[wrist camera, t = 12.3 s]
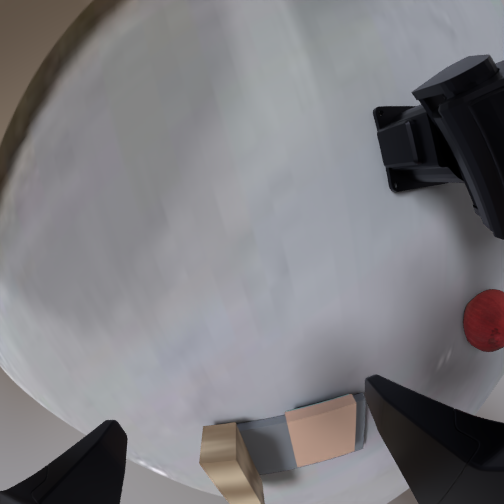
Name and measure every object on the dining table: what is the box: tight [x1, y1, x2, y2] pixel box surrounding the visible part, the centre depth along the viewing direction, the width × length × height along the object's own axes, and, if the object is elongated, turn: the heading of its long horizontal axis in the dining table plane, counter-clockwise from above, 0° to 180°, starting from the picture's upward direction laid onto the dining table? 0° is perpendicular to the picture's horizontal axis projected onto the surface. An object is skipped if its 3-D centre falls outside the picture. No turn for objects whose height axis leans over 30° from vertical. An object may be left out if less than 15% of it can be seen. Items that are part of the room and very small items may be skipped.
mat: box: [237, 393, 366, 475], centre depth 23 cm, size 15×9×1 cm, turn 103°
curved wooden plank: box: [199, 422, 265, 504], centre depth 20 cm, size 12×3×4 cm, turn 13°
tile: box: [285, 394, 356, 467], centre depth 21 cm, size 6×2×8 cm
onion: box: [463, 289, 504, 352], centre depth 18 cm, size 6×6×8 cm
